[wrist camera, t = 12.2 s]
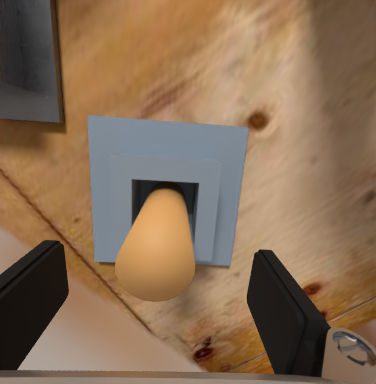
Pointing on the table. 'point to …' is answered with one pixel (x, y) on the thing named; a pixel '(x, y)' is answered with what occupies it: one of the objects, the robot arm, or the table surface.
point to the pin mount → (30, 62)
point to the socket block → (165, 171)
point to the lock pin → (158, 247)
